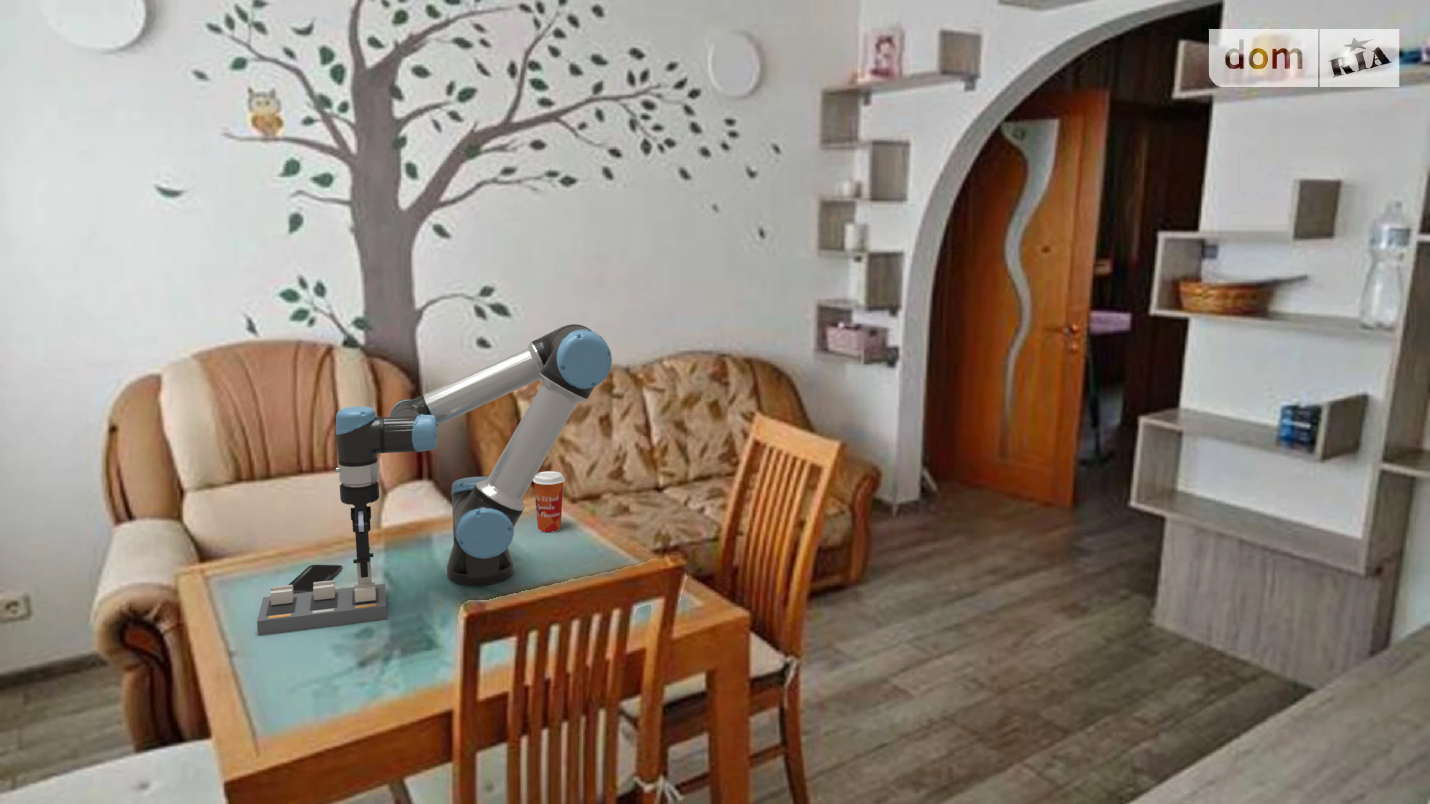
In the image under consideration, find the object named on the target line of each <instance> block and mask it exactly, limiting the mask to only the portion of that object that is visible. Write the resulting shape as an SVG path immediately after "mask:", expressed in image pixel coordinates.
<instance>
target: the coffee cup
mask: <svg viewBox="0 0 1430 804" xmlns="http://www.w3.org/2000/svg"><path fill="white" fill-rule="evenodd" d="M532 482H533V484H534V496H535V507H536V508H535V512H536V521H537V530H538V529H539V530H541V531H545V532H544V533H553V532H552V531H556V530H558V529H560V530H561V528H562V527H561V526H562V512H563V510H562V509H563V495H564V494H563V492H564V491H563V490H564V482H566V479H565V478H564V476H563V474H562V473H561V472H559V471H553V470H552V471H550V470H549V471H541V472H537V474H536V475H535V477H534V479H533V481H532ZM539 530H538V531H539ZM541 531H540V532H541ZM558 531H559V530H558ZM556 532H557V531H556Z"/></svg>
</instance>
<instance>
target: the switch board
mask: <svg viewBox="0 0 1430 804" xmlns="http://www.w3.org/2000/svg"><path fill="white" fill-rule="evenodd" d="M375 591H376V600H373V601H364V602H356V603H355V588H354V586H352V587H351V586H350V587H344V588H343V587H341V588H335V598H330V599H321V600H314V594H313V592H305V593H296V594H294V599H293V603H286V604H278V605H271V595H269V596H263V597H262V601H261V605H260V608H259V611H258V615H257V620H256V625H257V635H258V636H264V635H271V634H280V633H287V632H288V633H289V632H294V631H303V630H311V629H312V630H313V629H320V628H328V627H337V626H344V625H352V624H362V623H367V622H374V621H375V622H376V621H377V622H378V621H384V620H385V621H386V620H388V611H387V610H388V607H387V595H386V594H387V593H386V592H387V590H386V583H379V584H378V583H377V584H375Z"/></svg>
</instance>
